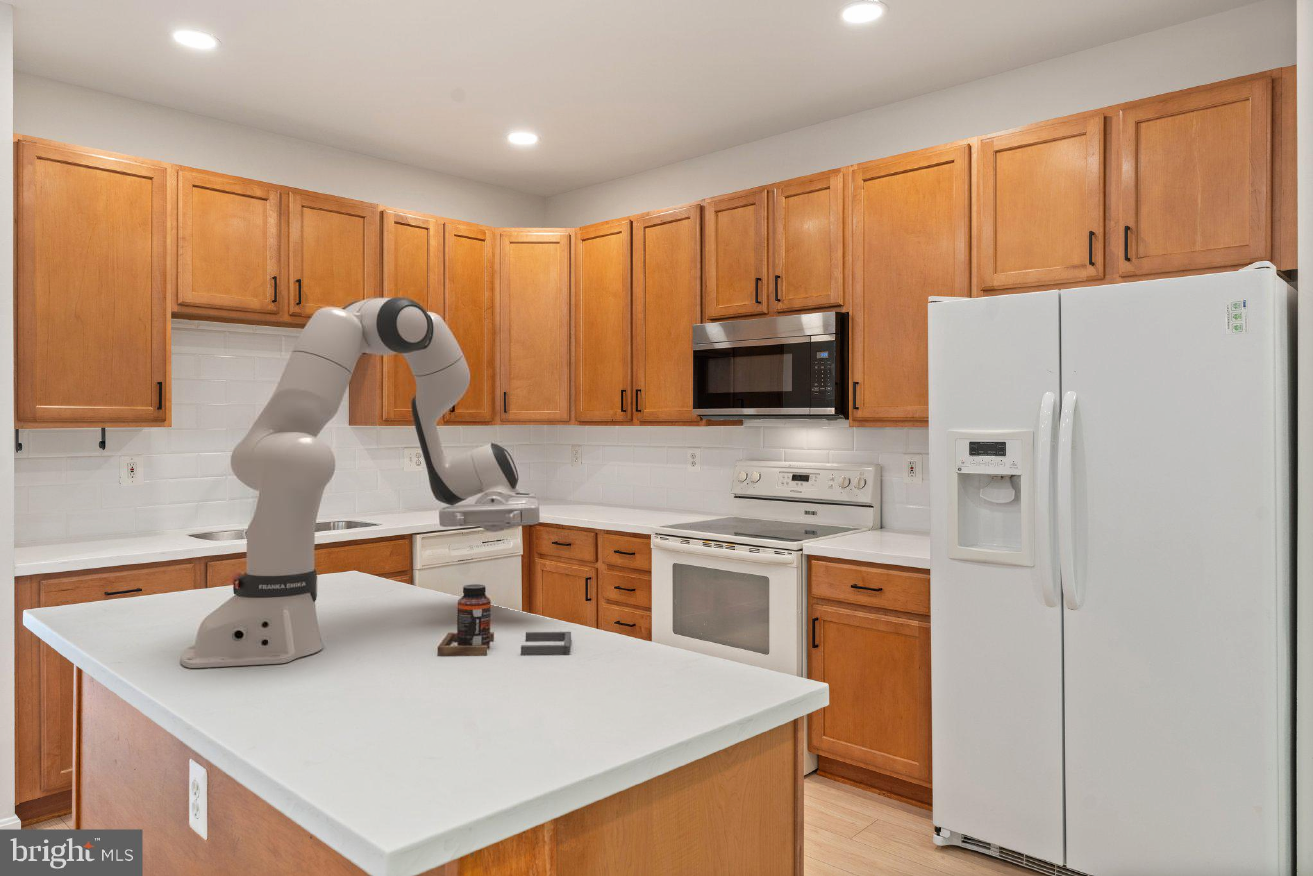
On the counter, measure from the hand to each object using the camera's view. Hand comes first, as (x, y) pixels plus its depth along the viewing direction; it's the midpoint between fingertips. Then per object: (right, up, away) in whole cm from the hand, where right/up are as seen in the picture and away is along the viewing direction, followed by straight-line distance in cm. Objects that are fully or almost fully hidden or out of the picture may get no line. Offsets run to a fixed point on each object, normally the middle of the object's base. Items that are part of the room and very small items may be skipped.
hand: (484, 520), depth 165 cm
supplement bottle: (0, -22, -12) cm, 25 cm away
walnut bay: (-1, -22, -12) cm, 25 cm away
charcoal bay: (+14, -22, -11) cm, 28 cm away
